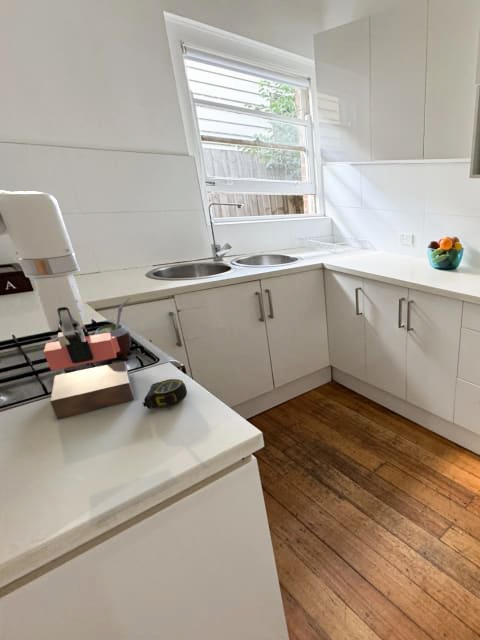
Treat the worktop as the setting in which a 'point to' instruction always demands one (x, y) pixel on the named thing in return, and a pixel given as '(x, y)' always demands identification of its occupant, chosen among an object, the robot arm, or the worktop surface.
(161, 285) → the worktop surface
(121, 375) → the wood block
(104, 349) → the pink rectangular bar
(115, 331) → the mate gourd
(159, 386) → the tape measure
